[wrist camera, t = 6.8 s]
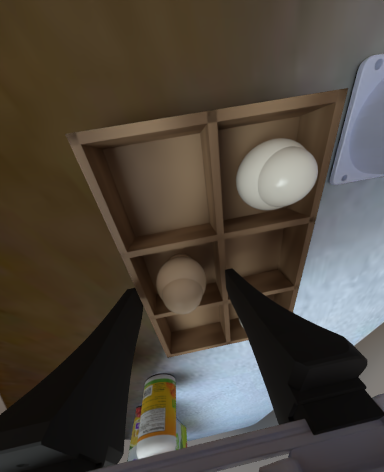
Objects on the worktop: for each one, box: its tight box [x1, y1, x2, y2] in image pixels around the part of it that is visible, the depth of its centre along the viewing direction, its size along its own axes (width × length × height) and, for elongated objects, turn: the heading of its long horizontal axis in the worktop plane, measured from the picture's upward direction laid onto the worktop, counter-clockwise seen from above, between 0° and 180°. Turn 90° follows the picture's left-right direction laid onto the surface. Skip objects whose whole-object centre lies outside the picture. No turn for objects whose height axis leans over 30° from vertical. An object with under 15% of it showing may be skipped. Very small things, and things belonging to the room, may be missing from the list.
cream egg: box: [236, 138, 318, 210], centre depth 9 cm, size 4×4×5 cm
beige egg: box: [156, 253, 206, 314], centre depth 12 cm, size 4×4×5 cm
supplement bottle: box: [136, 374, 176, 459], centre depth 22 cm, size 5×5×10 cm
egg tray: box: [65, 88, 348, 358], centre depth 14 cm, size 15×22×3 cm
